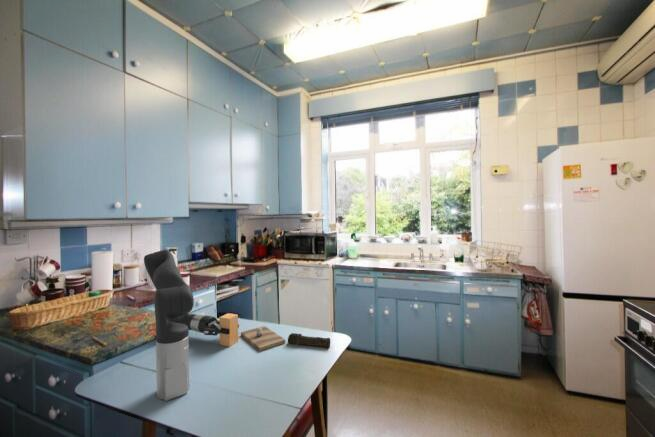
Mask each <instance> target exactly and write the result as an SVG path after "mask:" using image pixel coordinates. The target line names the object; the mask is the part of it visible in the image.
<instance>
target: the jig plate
mask: <svg viewBox="0 0 655 437" xmlns="http://www.w3.org/2000/svg"><path fill="white" fill-rule="evenodd" d="M240 336H241V337H242V338H244V340H246V341H247V343H249V344H250V345H252V346H253V347H254V348H255V349H256V350H258V351H259V352H262V351H266V350H268V349H271V348H274V347H278V346H280V345H283V344H286V339H285V338H284V337H282V336H281V335H279V334H278V333H276V332H275V331H273V330H271V329H270V328H269V327H267V326H266V325H262V326H259V327H255V328H251V329H248V330H245V331H241V332H240Z"/></svg>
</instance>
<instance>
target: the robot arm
mask: <svg viewBox="0 0 655 437" xmlns="http://www.w3.org/2000/svg"><path fill="white" fill-rule="evenodd" d="M143 264H144V266H145V270H146V272H147V274H148V276H149V278H150V280H151V283H152V284H153V286H154V288H155V290H156V292H155V293H154V300H153V302H154V303H153V305H154V306H153V307H154V317H155V359H156V360H155V364H156V365H155V368H156V369H155V371H156V373H155V374H156V396H157V398H158V399H160V400H164V401H165V402H167V401H171V400H173V399H175V398H178V397H182V396H183V395H186V394H188V390H189V388H190V351H189V350H190V346H189V344H190V341H189V340H190V338H189V333H190V332H189V331H193V332H196V333H201V334H204V336H218V335H220V334H230V330H229V329H227V328H221V327H220V319H219V320H218V319H217V318H216V317H215V316H213V315H205V314H194V313H190V312H192V310H193V309H194V305H195V298H194V294H193V291H192V290H191V287H190V286H189V285H188V284H187V283H186V281H185V280H184V278H183V276H182V273H181V272H180V270H179V268H178V266H177V265H176V261H175V258H174V255H173V253H172V252H171V251H170V250H168V249H162V250H159V251H155V252H151V253H148V254H145V255H144V257H143ZM239 326H240V324H239V323H238V329H239Z"/></svg>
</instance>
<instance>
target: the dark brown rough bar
mask: <svg viewBox="0 0 655 437" xmlns="http://www.w3.org/2000/svg"><path fill="white" fill-rule="evenodd" d="M287 343H288V344H291V345H295V346H302V345H306V346H314V347H321V348H327V349H329V348H330V346H331V338H330V337H320V336H319V337H318V336H317V337H316V336H308V335H307V336H306V335H302V333H297V332H296V333H295V332H294V333H289V335H288V338H287Z"/></svg>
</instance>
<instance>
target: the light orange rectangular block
mask: <svg viewBox="0 0 655 437" xmlns="http://www.w3.org/2000/svg"><path fill="white" fill-rule="evenodd" d="M219 320H220V327H221V328H227V329H229V330H230V334H219V345H220V346H225V347H232V346H233V345H235V344H236V343H238V342H239V328H238V324H239V314H235V313H228V312H227V313H226V314H224V315H222V316H219Z"/></svg>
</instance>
